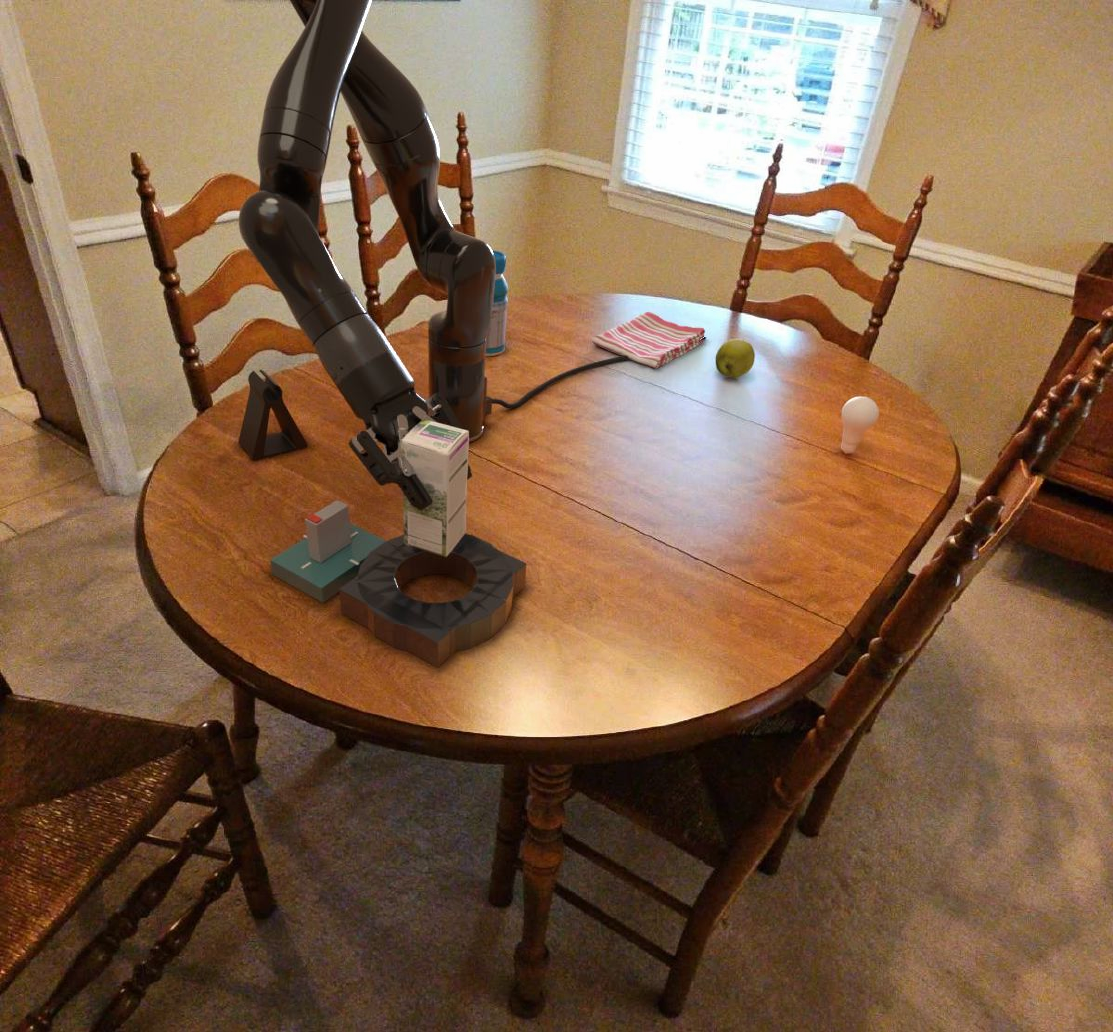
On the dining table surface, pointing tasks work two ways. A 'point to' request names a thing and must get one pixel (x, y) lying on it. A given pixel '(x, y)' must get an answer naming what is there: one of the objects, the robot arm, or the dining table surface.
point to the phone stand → (257, 421)
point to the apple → (735, 358)
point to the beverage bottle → (498, 310)
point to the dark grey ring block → (433, 624)
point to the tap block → (324, 565)
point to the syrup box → (437, 486)
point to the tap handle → (328, 531)
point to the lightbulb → (857, 421)
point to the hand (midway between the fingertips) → (446, 492)
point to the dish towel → (650, 340)
